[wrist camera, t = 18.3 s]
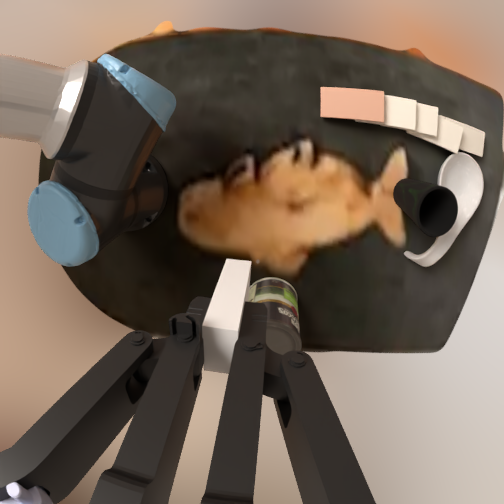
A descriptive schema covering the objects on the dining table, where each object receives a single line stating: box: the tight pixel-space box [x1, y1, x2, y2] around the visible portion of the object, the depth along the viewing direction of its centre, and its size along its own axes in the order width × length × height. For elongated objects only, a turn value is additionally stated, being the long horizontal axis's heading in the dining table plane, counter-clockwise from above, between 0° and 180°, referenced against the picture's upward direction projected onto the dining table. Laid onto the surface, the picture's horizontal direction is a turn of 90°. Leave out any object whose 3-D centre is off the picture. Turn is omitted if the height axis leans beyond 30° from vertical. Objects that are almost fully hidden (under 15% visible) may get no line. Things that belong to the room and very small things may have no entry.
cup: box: [393, 179, 458, 237], centre depth 40 cm, size 8×8×12 cm
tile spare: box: [321, 87, 384, 123], centre depth 38 cm, size 2×5×10 cm
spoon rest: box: [404, 152, 484, 267], centre depth 43 cm, size 24×12×7 cm, turn 157°
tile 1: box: [355, 95, 416, 130], centre depth 38 cm, size 2×5×10 cm
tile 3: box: [406, 116, 463, 154], centre depth 38 cm, size 2×5×10 cm
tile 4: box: [442, 117, 485, 157], centre depth 38 cm, size 2×5×10 cm
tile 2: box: [380, 103, 438, 136], centre depth 38 cm, size 2×5×10 cm
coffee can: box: [248, 277, 302, 355], centre depth 50 cm, size 10×10×14 cm
